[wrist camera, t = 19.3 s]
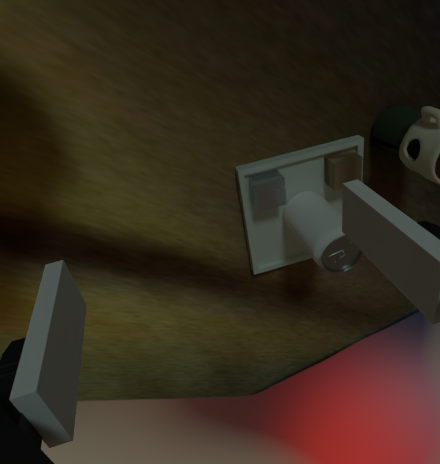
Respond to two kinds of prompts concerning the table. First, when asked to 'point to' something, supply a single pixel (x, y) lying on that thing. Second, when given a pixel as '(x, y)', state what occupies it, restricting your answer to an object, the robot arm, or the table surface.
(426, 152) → the character mug
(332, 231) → the can
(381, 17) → the table surface
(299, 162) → the tray
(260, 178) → the grey metal block
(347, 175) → the walnut block
